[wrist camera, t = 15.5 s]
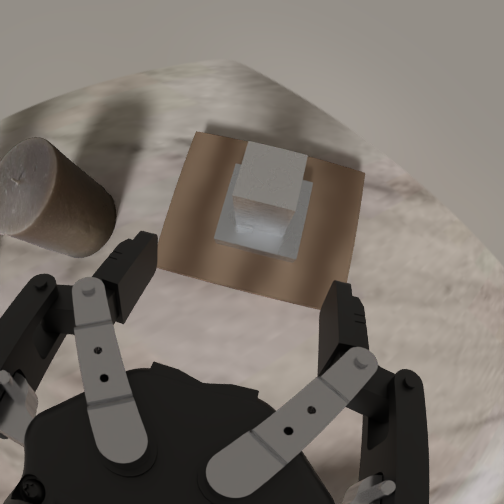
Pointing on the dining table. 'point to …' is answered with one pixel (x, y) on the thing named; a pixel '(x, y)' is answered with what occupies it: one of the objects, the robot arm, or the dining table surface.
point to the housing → (266, 203)
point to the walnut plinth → (250, 264)
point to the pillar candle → (53, 201)
